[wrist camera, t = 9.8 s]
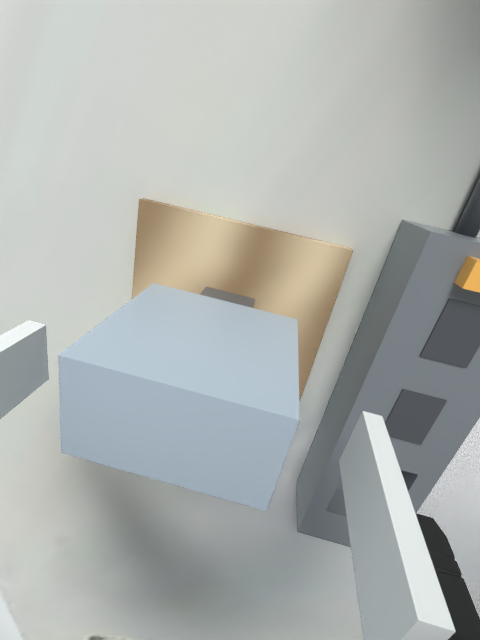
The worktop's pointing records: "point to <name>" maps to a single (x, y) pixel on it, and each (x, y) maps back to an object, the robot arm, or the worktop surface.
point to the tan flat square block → (242, 267)
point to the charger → (186, 392)
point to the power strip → (405, 370)
